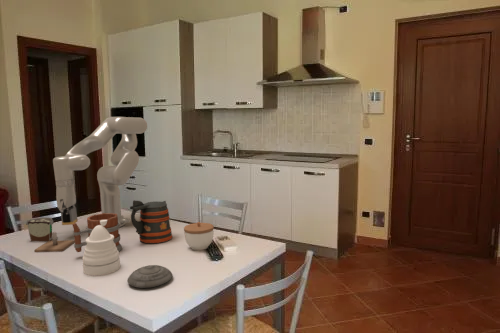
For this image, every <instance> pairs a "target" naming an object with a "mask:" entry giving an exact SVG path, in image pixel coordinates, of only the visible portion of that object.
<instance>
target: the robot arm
mask: <svg viewBox="0 0 500 333" xmlns="http://www.w3.org/2000/svg"><path fill="white" fill-rule="evenodd" d="M147 129H148V123H147V121H146V119H144V118H142V117H133V116H131V117H130V116H128V117H126V116H109V117H107V118H105V119H104V120H103V121H102V122H101V123H100V124H99V125H98V127H96V129H95V130H94V131H93V132H92V133H91V134H89V136H87V137H85V138H84V139H82V140H81V141H79V142H78V143H76V144H75V145H73V146H72V148H70V149H69V151H68V152H67V153H66V154H65V155H64V156H56V157H54V158H53V159H52V164H53V172H54V180H55V186H56V187H55V188H56V190H55V191H56V192H55V193H56V196H55V198H56V207H57V209H58V210H59V211H61V212H60V215H61V214H62V217H63V223H68V222H71V221H70V214H69V208H70V207H76V203H77V196H76V191H75V187H74V186H75V182H74V175H73V173H74V172H73V171H83V170H86V169H88V168H89V166H90V165H91V159H90V158H89V157H88V155H89V154H90V153H93V152H95V151H98V150H101V149H103V148H104V147H105V146H106V145H107V144H108V143H109V142H110V141H111V140H112V138H114V136H115V135H116V134H120V135H121V140H120V141H119V143H118V145H117V146H116V148H115V149H114V151H113V152H112V154H111V156H110V163H111V164H112V165H104V166H102V167H100V168H99V169H98V171H97V174H96V176H97V178H96V179H97V182H98V186H99V193H100V205H101V206H100V209H101V214H102V213H113V214H117V216H118V222H119V225H120V228H122V227H123V226H125V225H126V223H130V222H131V218H129V217H125V218H124V215H122V203H121V191H120V187H119V186H123V185H125V184H126V183H127V182H128V181H129V179H130V178H131V176H133V173H134V171H135V170H136V168H137V166H138V164H139V161H140V157H139V154H138V152H137V151H136V149H137V146H138V138H137V137H138V136H137V135H138V134H140V135H141V134H143V133H145V132H146V131H147ZM64 209H66V210H64Z"/></svg>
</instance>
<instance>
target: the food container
mask: <svg viewBox="0 0 500 333" xmlns="http://www.w3.org/2000/svg"><path fill="white" fill-rule="evenodd" d="M25 224H26V226H27V229H28V236H29V239H30V242H31V243H32V242H33V243H35V242H36V243H37V242H38V243H39V242H40V243H46V242H48V241H53V238H52V233H53V225H54V219H53V218H52V217H36V218H31V219H27V220H26V222H25Z"/></svg>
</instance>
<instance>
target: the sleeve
mask: <svg viewBox="0 0 500 333" xmlns="http://www.w3.org/2000/svg"><path fill="white" fill-rule="evenodd" d="M64 210H66V209H64ZM69 214H70V221H71V222H68V223H63V217H62V214H61V211H60V217H61V218H60V219H61V225H62V226H69V225H70V226H73V225H72V224H74V223H77V222H79V220H78V214H77V207H76V206H75V207H70V208H69Z"/></svg>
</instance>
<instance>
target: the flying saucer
mask: <svg viewBox="0 0 500 333" xmlns="http://www.w3.org/2000/svg"><path fill="white" fill-rule="evenodd" d="M172 278H173V273H172V272H171V270H170V269H169V268H167V267H165V266H163V265H158V264H150V265H148V264H147V265H145V266H144V265H143V266H141V267H139V268H137V269H136V270H133V272H131V274H129V276H128V278H127V283H128V284H129V285H130V286H131V287H136V288H141V289H143V288H144V289H145V288H146V289H147V288H148V289H149V288H154V287H158V286H162V285H164V284H166V283H167V282H168V283H169V281H170V280H171V279H172Z"/></svg>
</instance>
